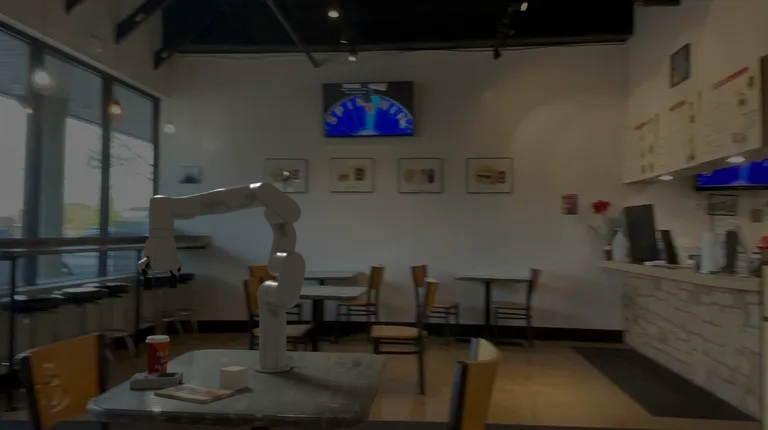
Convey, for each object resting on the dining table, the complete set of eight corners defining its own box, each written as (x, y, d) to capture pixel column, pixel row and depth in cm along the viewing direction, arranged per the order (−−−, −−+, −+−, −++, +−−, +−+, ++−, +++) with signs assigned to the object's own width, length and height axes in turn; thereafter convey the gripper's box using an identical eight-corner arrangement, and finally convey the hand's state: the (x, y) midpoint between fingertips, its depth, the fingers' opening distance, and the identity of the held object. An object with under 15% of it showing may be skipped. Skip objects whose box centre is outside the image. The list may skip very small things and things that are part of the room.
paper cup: (161, 382, 206) (162, 338, 207) (139, 381, 208) (140, 338, 208) (174, 377, 214) (174, 335, 214) (153, 376, 215) (154, 334, 216)
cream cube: (233, 384, 203) (233, 365, 203) (247, 387, 200) (247, 367, 200) (219, 388, 198) (219, 369, 198) (233, 390, 195) (234, 371, 195)
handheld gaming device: (135, 384, 205) (136, 372, 205) (183, 383, 207) (183, 371, 207) (128, 391, 196) (128, 378, 196) (177, 389, 198) (177, 377, 198)
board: (188, 386, 200) (188, 383, 200) (235, 394, 190) (235, 390, 190) (154, 395, 189) (154, 391, 189) (202, 403, 179) (203, 399, 179)
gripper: (174, 235, 212) (173, 287, 211) (130, 234, 197) (129, 290, 196) (190, 235, 208) (189, 288, 207) (146, 234, 193) (145, 291, 192)
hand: (160, 289), depth 202 cm, fingers open, 9 cm apart
